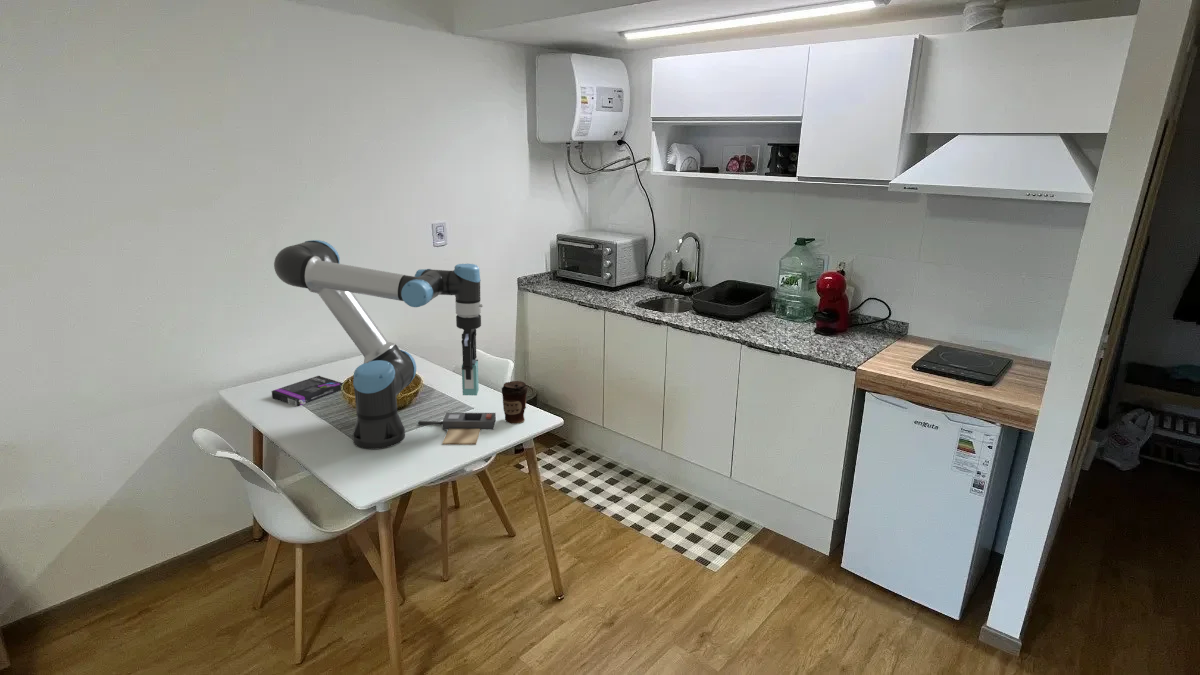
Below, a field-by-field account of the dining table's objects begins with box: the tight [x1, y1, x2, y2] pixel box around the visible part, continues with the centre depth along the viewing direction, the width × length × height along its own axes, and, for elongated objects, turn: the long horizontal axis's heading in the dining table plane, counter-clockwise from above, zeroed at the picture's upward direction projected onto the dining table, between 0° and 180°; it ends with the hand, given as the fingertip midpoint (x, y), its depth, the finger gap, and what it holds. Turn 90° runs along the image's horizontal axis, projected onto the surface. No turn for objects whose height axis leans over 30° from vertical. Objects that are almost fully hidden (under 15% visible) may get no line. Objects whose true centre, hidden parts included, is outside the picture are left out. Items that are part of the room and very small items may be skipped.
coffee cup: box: [501, 380, 528, 425], centre depth 206 cm, size 9×8×13 cm
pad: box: [442, 429, 481, 445], centre depth 195 cm, size 10×10×1 cm
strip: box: [417, 412, 497, 431], centre depth 203 cm, size 25×7×3 cm, turn 93°
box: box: [271, 375, 344, 408], centre depth 226 cm, size 14×4×20 cm
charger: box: [461, 359, 480, 396], centre depth 199 cm, size 4×4×11 cm
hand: (470, 385), depth 200 cm, fingers closed on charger, 4 cm apart
